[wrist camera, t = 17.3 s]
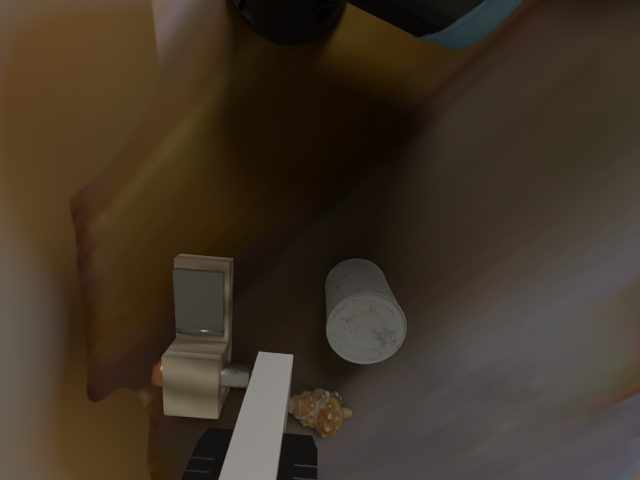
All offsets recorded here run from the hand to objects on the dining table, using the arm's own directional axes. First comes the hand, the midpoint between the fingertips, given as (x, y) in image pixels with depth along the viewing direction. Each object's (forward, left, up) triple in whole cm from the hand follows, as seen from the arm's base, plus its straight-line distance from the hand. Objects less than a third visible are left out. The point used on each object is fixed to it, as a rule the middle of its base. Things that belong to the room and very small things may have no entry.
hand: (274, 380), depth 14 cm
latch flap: (+13, -15, -32) cm, 37 cm away
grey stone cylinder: (+10, +8, -34) cm, 37 cm away
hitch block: (+18, -15, -34) cm, 41 cm away
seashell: (+31, +4, -35) cm, 47 cm away
